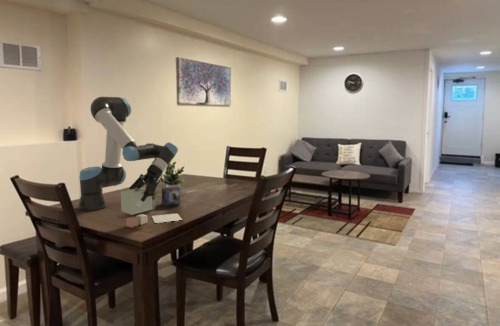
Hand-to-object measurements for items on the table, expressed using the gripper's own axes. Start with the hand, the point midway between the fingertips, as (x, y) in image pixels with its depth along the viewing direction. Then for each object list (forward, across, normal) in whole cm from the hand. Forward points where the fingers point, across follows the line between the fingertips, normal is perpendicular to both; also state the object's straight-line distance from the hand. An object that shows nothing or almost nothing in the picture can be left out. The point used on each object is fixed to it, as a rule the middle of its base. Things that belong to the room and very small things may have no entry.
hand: (131, 204), depth 177 cm
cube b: (+8, 0, -8) cm, 11 cm away
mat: (-6, -4, -21) cm, 22 cm away
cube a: (+4, 0, -12) cm, 13 cm away
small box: (-20, +17, -36) cm, 45 cm away
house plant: (-9, +20, -26) cm, 34 cm away
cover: (0, 0, -5) cm, 5 cm away
